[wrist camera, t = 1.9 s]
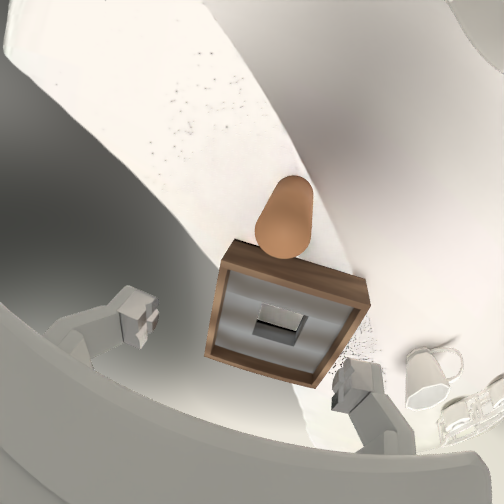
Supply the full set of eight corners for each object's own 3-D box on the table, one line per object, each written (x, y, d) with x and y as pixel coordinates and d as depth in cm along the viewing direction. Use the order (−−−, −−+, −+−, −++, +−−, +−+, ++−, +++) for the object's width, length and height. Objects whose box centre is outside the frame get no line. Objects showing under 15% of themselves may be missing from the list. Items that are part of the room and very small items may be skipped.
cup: (391, 353, 35) (398, 397, 28) (451, 324, 31) (467, 366, 24) (404, 376, 37) (410, 416, 30) (458, 350, 33) (471, 389, 26)
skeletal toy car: (514, 364, 32) (525, 391, 25) (510, 388, 35) (518, 412, 28) (432, 406, 40) (437, 435, 34) (437, 424, 43) (441, 450, 37)
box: (234, 238, 32) (221, 259, 28) (365, 279, 31) (370, 305, 27) (215, 332, 40) (204, 356, 36) (317, 362, 39) (315, 388, 35)
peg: (280, 170, 27) (261, 199, 19) (318, 182, 27) (318, 216, 18) (270, 206, 29) (249, 249, 21) (306, 217, 29) (301, 265, 20)
